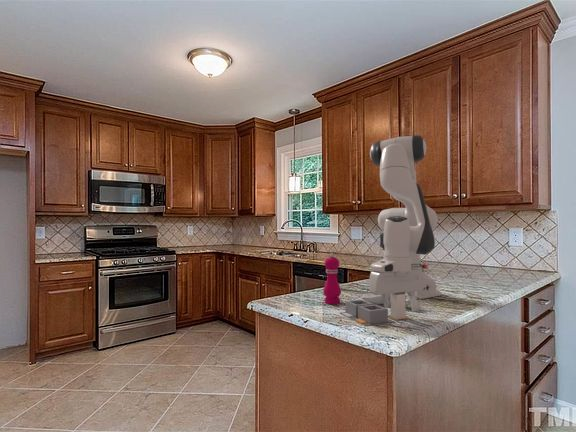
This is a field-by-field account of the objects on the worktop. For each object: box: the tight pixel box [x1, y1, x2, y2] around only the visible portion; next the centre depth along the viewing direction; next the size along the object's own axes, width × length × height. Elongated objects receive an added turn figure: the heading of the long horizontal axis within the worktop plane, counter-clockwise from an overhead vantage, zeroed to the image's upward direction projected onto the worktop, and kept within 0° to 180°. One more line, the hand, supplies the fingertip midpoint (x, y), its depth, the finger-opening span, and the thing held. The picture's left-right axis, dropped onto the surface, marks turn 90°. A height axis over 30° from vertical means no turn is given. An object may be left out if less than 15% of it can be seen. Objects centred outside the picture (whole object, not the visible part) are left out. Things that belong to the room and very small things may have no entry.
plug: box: [390, 292, 407, 319], centre depth 118 cm, size 3×3×9 cm
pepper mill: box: [322, 252, 342, 305], centre depth 144 cm, size 7×7×20 cm
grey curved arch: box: [361, 292, 421, 313], centre depth 136 cm, size 24×12×7 cm, turn 39°
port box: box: [339, 299, 396, 327], centre depth 118 cm, size 11×16×5 cm
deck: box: [388, 314, 413, 322], centre depth 118 cm, size 7×7×1 cm
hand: (397, 306), depth 118 cm, fingers open, 7 cm apart
